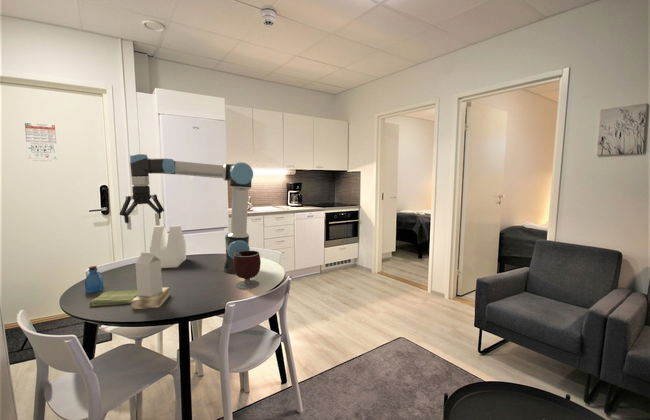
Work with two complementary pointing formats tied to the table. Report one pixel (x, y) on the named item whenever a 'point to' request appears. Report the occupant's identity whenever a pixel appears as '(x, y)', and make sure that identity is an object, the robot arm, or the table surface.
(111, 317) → the table surface
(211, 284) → the table surface
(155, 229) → the white notched block
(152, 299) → the beige book
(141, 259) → the milk carton
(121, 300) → the washcloth
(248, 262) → the dark red goblet
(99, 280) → the perfume bottle
